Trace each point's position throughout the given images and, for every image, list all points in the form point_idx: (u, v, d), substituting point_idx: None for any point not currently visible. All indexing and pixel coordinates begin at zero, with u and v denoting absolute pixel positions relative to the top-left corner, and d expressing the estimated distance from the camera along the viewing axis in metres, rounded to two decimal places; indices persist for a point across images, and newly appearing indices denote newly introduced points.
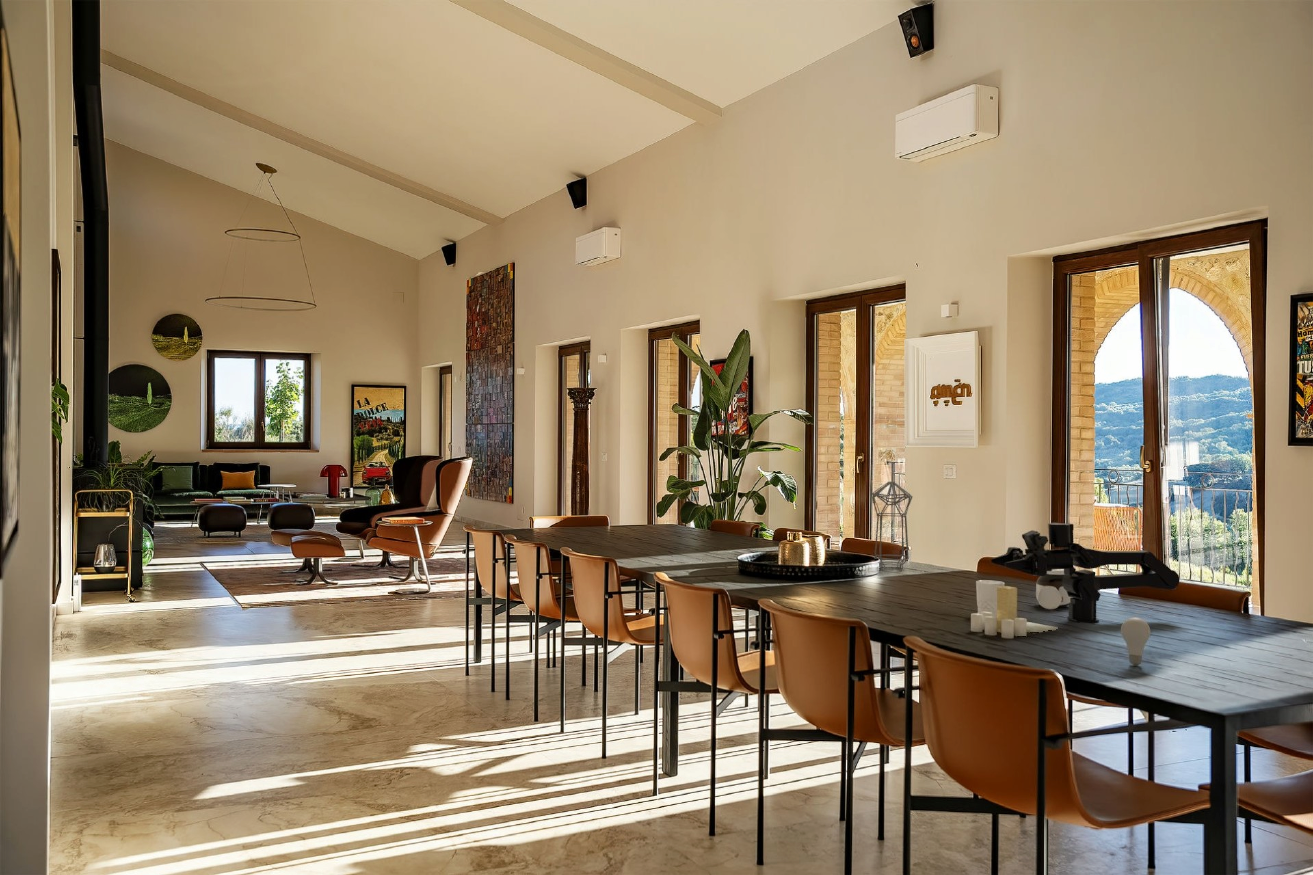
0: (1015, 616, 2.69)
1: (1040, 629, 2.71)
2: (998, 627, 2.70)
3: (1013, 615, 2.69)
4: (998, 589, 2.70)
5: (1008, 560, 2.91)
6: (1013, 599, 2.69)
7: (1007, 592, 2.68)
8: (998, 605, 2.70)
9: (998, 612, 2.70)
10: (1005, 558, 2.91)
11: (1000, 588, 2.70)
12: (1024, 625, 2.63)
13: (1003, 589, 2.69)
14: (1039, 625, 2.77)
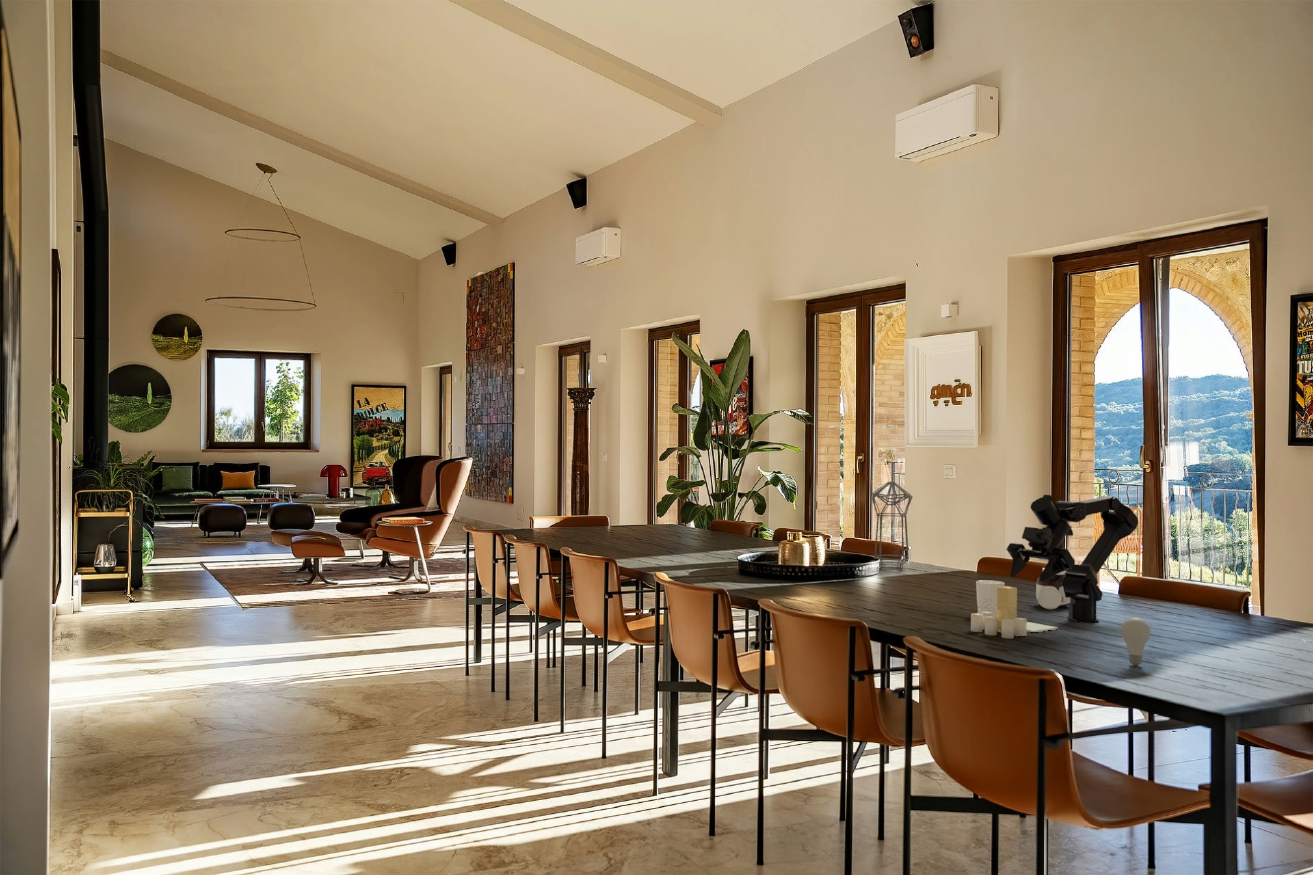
0: (1015, 616, 2.69)
1: (1040, 629, 2.71)
2: (998, 627, 2.70)
3: (1013, 615, 2.69)
4: (998, 589, 2.70)
5: (1020, 562, 2.81)
6: (1013, 599, 2.69)
7: (1007, 592, 2.68)
8: (998, 605, 2.70)
9: (998, 612, 2.70)
10: (1018, 562, 2.80)
11: (1000, 588, 2.70)
12: (1024, 625, 2.63)
13: (1003, 589, 2.69)
14: (1039, 625, 2.77)
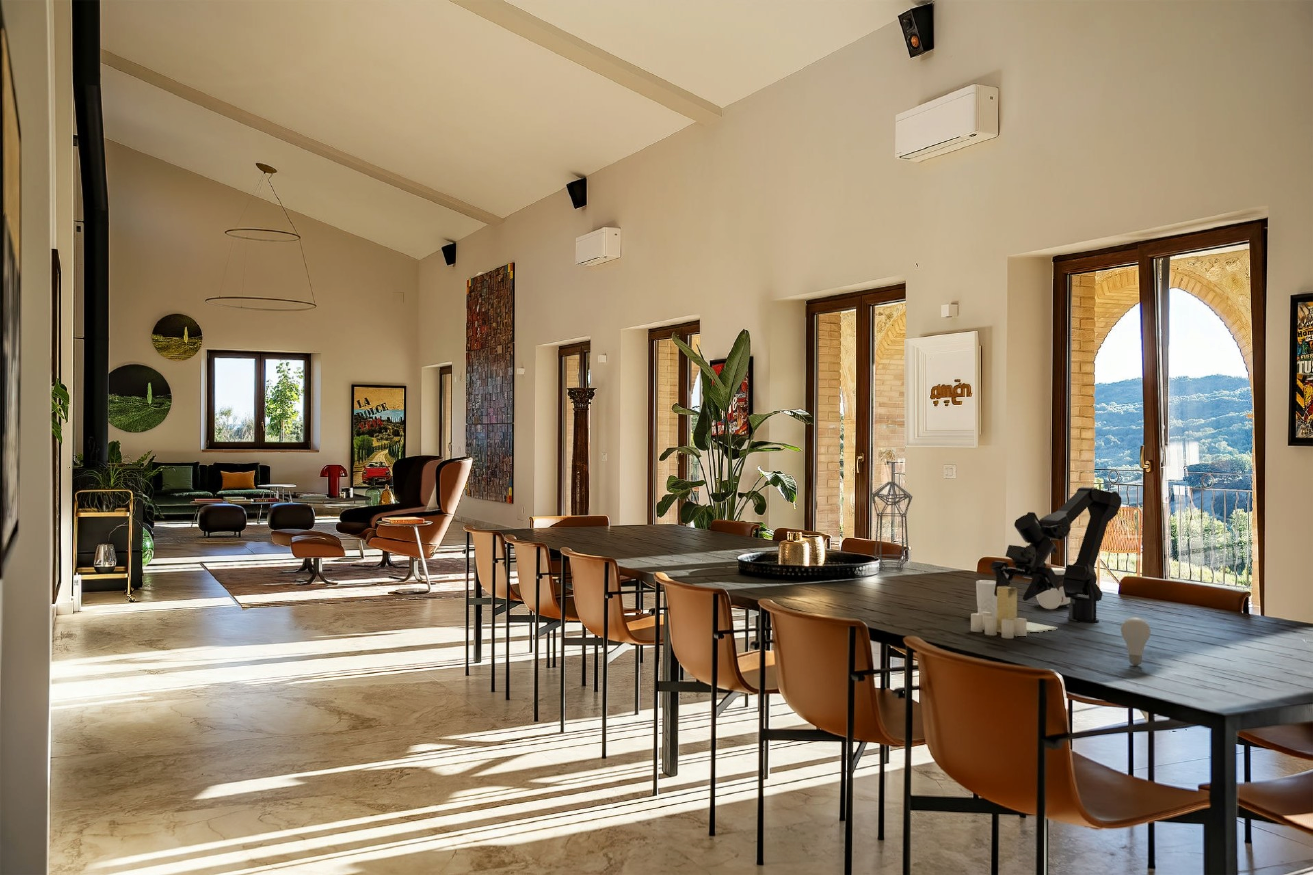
0: (1015, 616, 2.69)
1: (1040, 629, 2.71)
2: (998, 627, 2.70)
3: (1013, 615, 2.69)
4: (998, 589, 2.70)
5: (1004, 580, 2.77)
6: (1013, 599, 2.69)
7: (1007, 592, 2.68)
8: (998, 605, 2.70)
9: (998, 612, 2.70)
10: (1001, 581, 2.76)
11: (1000, 588, 2.70)
12: (1024, 625, 2.63)
13: (1003, 589, 2.69)
14: (1039, 625, 2.77)
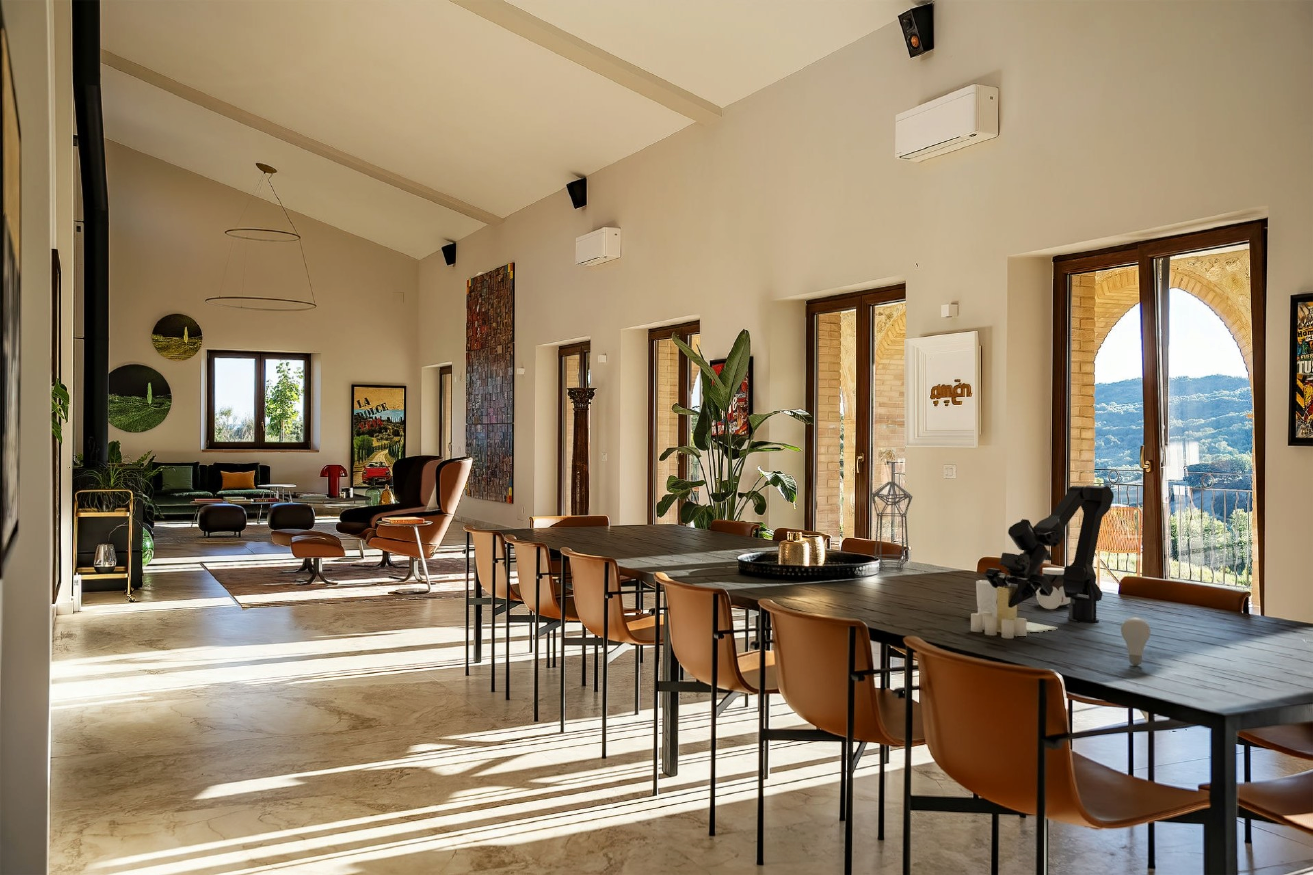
0: (1015, 616, 2.69)
1: (1040, 629, 2.71)
2: (998, 627, 2.70)
3: (1013, 615, 2.69)
4: (998, 589, 2.70)
5: None
6: None
7: (1007, 592, 2.68)
8: (998, 605, 2.70)
9: (998, 612, 2.70)
10: None
11: (1000, 588, 2.70)
12: (1024, 625, 2.63)
13: (1003, 589, 2.69)
14: (1039, 625, 2.77)
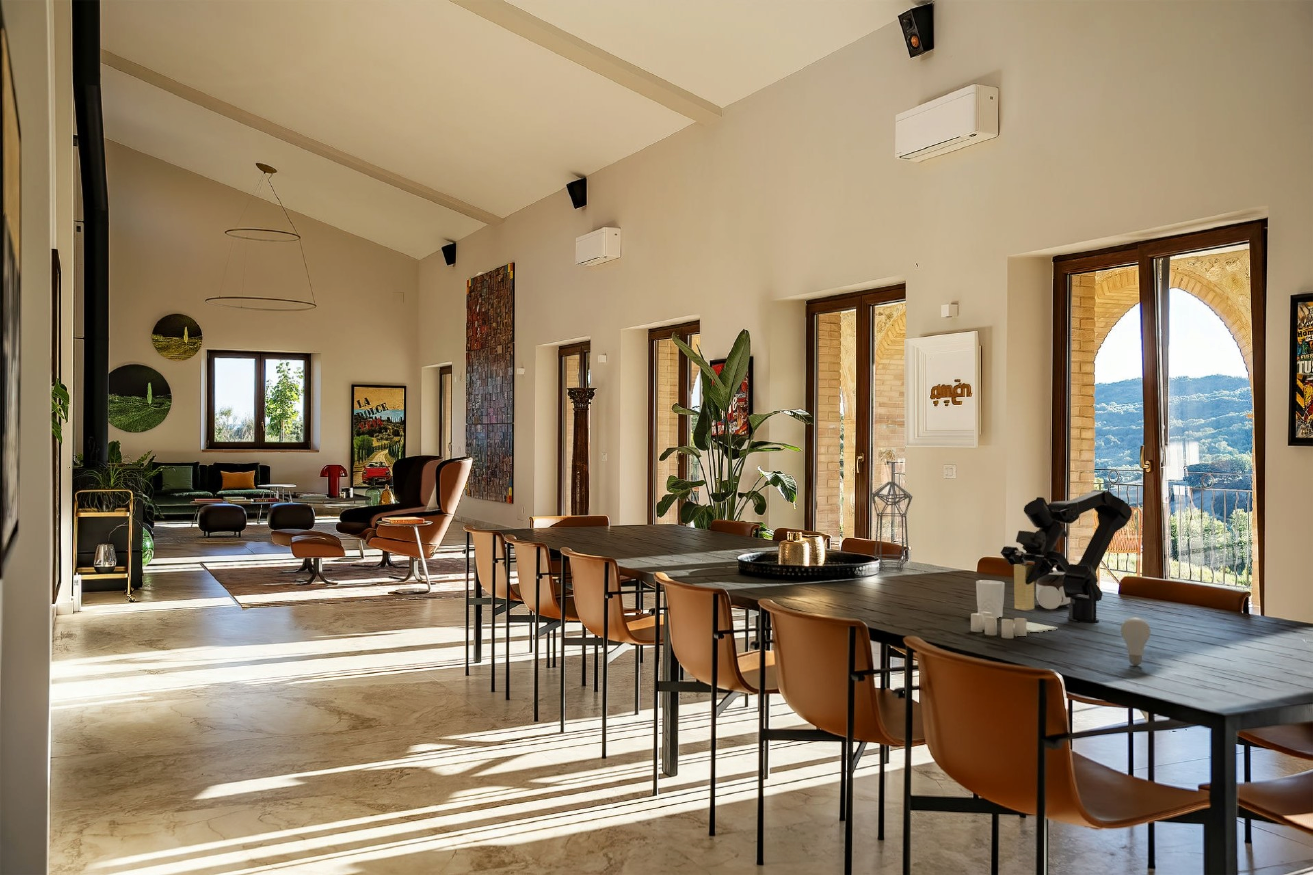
0: (1032, 593, 2.73)
1: (1040, 629, 2.71)
2: (1016, 604, 2.74)
3: (1030, 592, 2.73)
4: (1015, 566, 2.74)
5: None
6: None
7: (1024, 569, 2.72)
8: (1015, 582, 2.74)
9: (1015, 589, 2.74)
10: None
11: (1017, 565, 2.74)
12: (1024, 625, 2.63)
13: (1020, 566, 2.73)
14: (1039, 625, 2.77)
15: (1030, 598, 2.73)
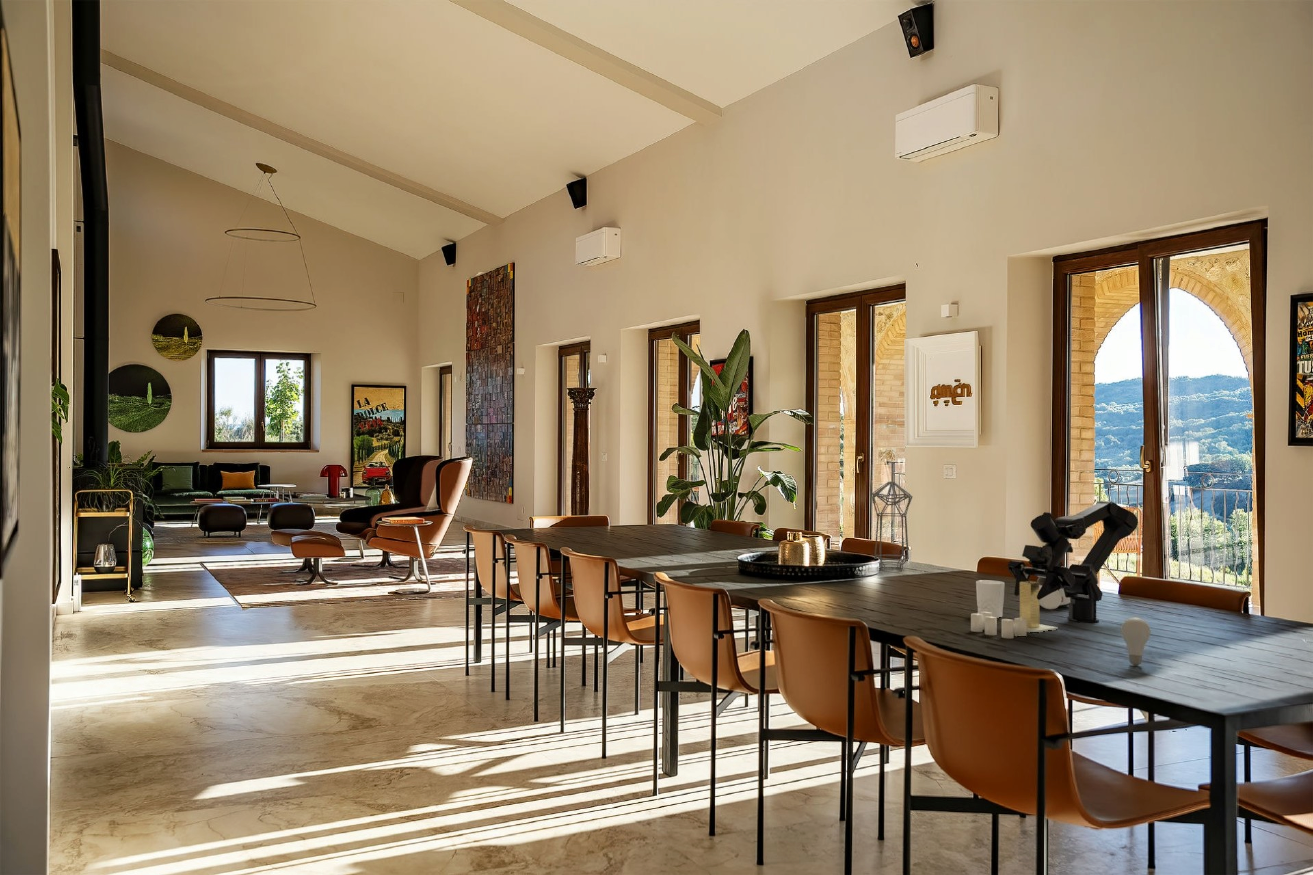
0: (1038, 610, 2.74)
1: (1040, 629, 2.71)
2: None
3: (1036, 610, 2.74)
4: (1021, 584, 2.75)
5: (1023, 580, 2.80)
6: (1036, 594, 2.74)
7: (1030, 587, 2.73)
8: (1021, 600, 2.75)
9: (1021, 607, 2.75)
10: (1021, 581, 2.79)
11: (1023, 583, 2.75)
12: (1024, 625, 2.63)
13: (1026, 584, 2.74)
14: (1039, 625, 2.77)
15: (1036, 616, 2.74)
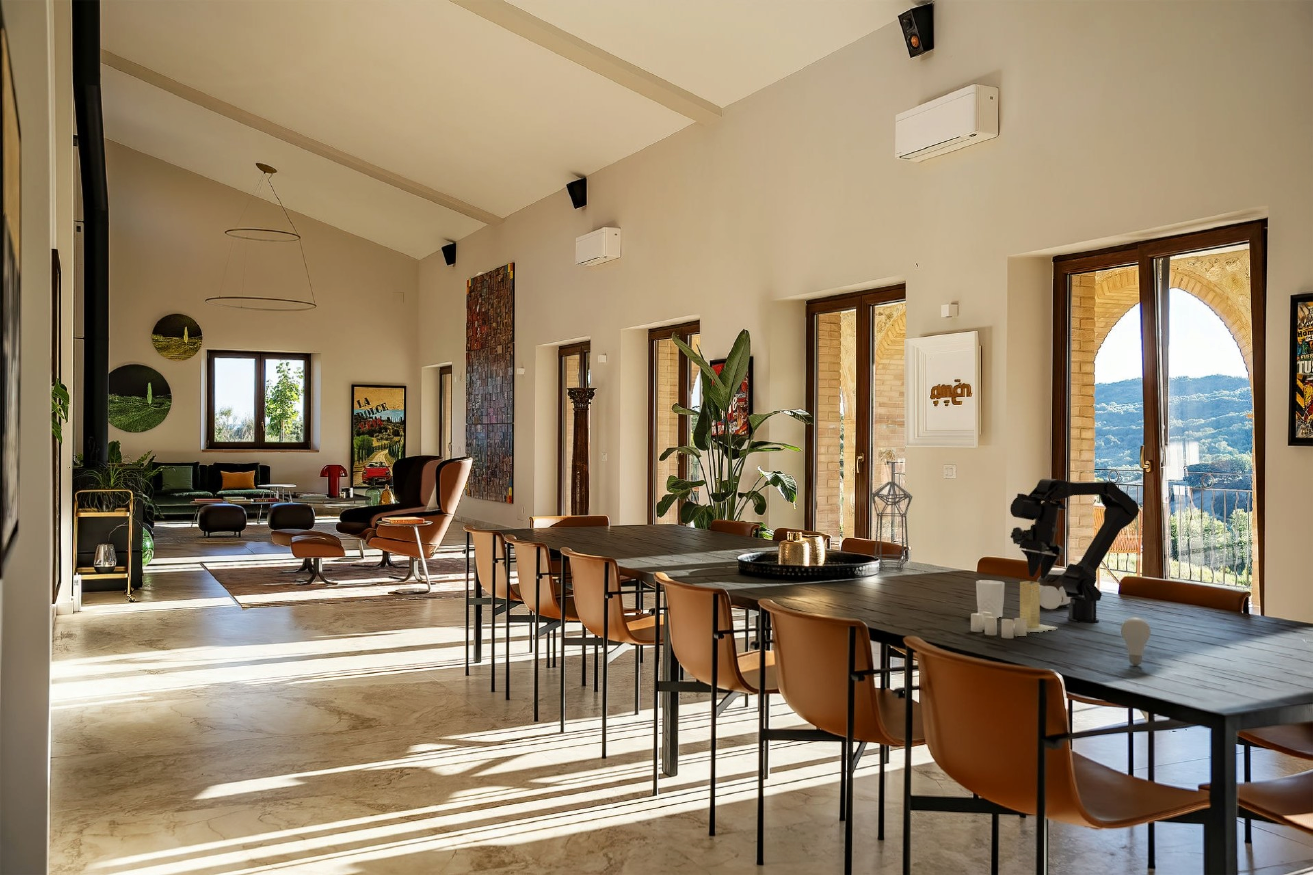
0: (1038, 611, 2.74)
1: (1040, 629, 2.71)
2: None
3: (1036, 610, 2.74)
4: (1021, 584, 2.76)
5: (1046, 559, 2.88)
6: (1036, 594, 2.74)
7: (1030, 587, 2.73)
8: (1021, 600, 2.75)
9: (1021, 607, 2.75)
10: (1043, 562, 2.88)
11: (1023, 583, 2.75)
12: (1024, 625, 2.63)
13: (1026, 584, 2.74)
14: (1039, 625, 2.77)
15: (1036, 616, 2.74)
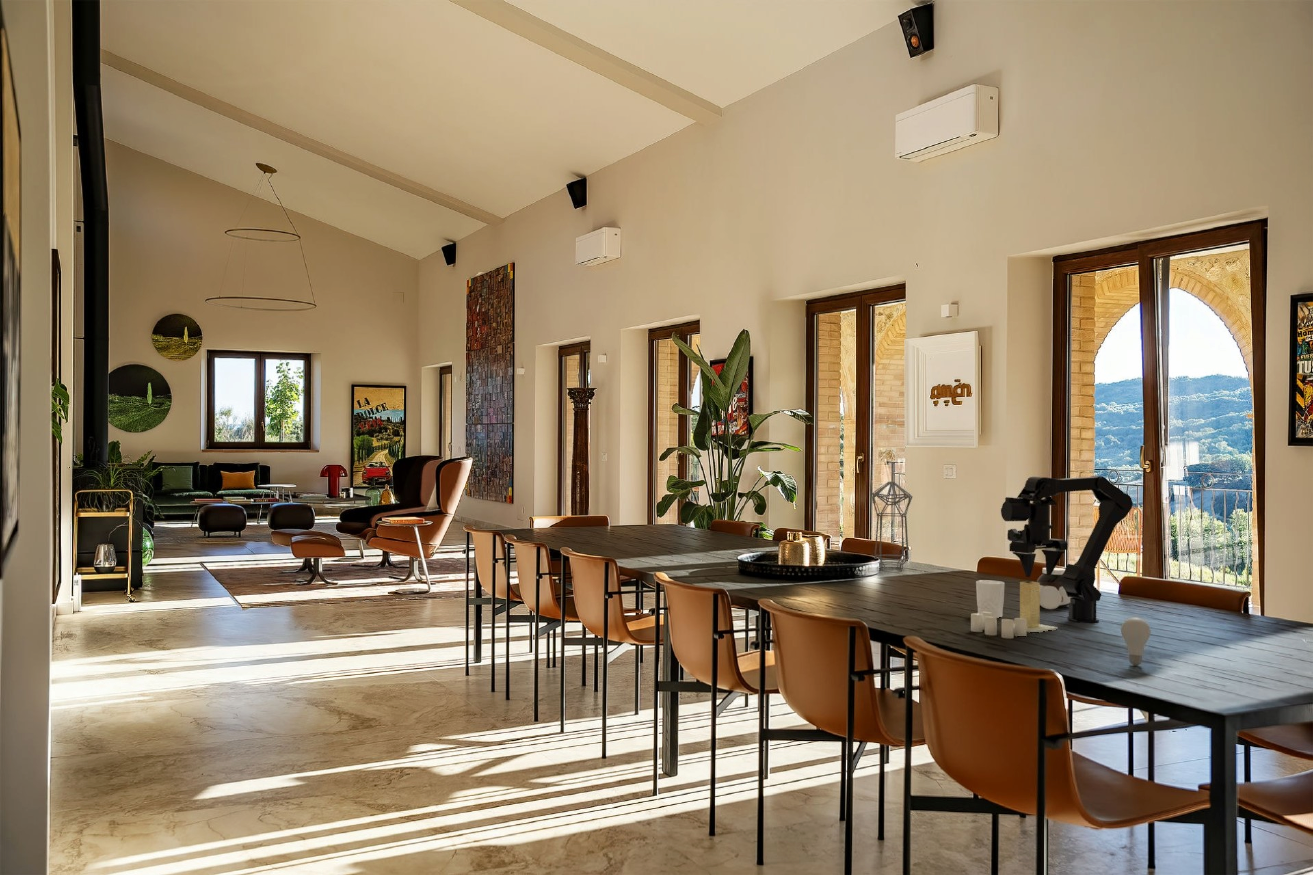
0: (1038, 611, 2.74)
1: (1040, 629, 2.71)
2: None
3: (1036, 610, 2.74)
4: (1021, 584, 2.76)
5: (1050, 556, 2.88)
6: (1036, 594, 2.74)
7: (1030, 587, 2.73)
8: (1021, 600, 2.75)
9: (1021, 607, 2.75)
10: (1048, 558, 2.88)
11: (1023, 583, 2.75)
12: (1024, 625, 2.63)
13: (1026, 584, 2.74)
14: (1039, 625, 2.77)
15: (1036, 616, 2.74)
